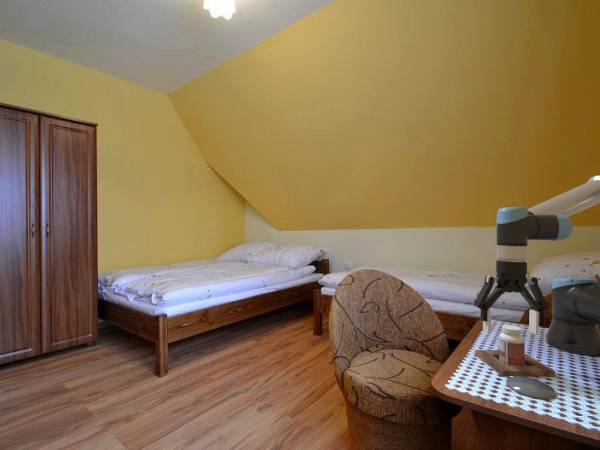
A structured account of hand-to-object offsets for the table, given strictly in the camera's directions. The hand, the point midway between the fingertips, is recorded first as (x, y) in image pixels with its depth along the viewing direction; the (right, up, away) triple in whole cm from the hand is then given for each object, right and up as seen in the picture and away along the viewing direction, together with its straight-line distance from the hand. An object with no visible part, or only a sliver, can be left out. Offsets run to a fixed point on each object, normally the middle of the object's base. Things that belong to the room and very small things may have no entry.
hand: (510, 332), depth 91 cm
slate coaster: (-4, -10, -13) cm, 16 cm away
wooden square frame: (0, -10, 0) cm, 10 cm away
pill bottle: (0, -10, 0) cm, 10 cm away
